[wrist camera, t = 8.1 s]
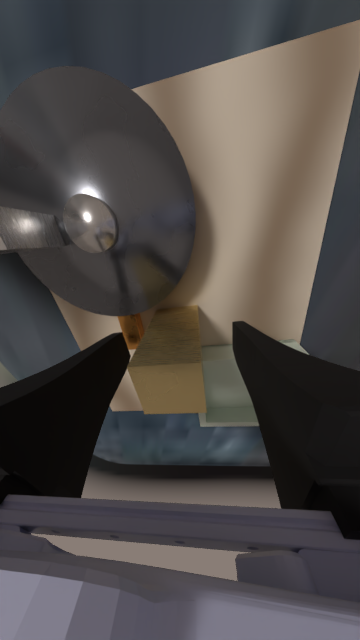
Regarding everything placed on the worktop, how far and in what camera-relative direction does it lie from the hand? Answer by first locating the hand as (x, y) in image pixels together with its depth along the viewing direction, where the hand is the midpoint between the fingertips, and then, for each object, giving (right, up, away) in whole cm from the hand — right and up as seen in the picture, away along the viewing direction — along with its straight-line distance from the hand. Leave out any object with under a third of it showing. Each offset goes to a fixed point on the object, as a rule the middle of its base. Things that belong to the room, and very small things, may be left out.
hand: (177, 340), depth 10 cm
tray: (+5, -4, +4) cm, 8 cm away
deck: (0, +2, +2) cm, 3 cm away
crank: (-5, +5, 0) cm, 7 cm away
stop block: (0, +1, +2) cm, 2 cm away
